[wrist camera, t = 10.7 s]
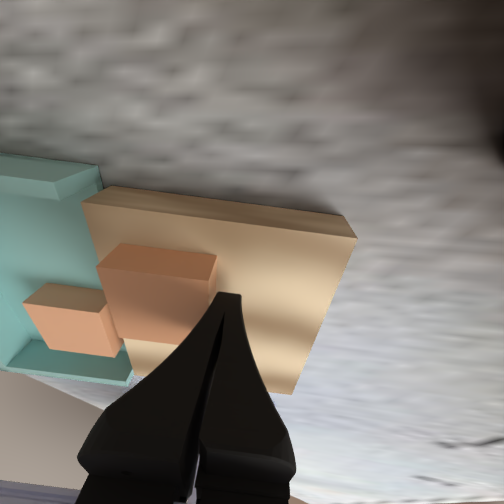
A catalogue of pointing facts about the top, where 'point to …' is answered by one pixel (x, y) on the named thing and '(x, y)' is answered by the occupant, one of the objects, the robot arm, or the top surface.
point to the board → (237, 266)
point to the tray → (47, 263)
